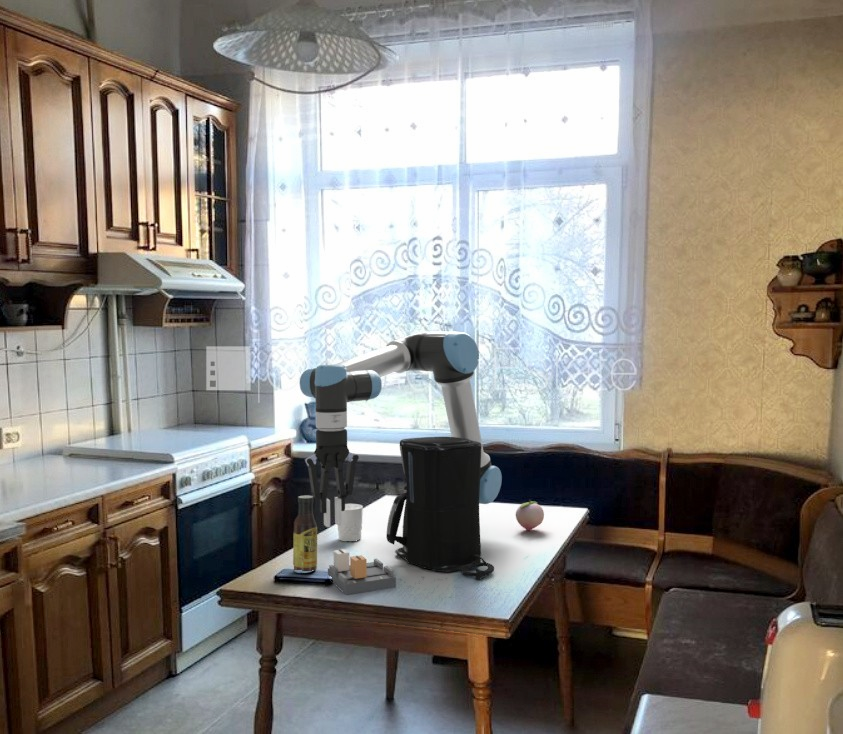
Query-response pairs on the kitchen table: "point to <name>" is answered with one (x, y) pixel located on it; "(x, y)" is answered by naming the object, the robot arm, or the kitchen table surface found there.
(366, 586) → the panel
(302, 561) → the sauce bottle
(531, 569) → the kitchen table surface
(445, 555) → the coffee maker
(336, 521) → the robot arm
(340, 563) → the white fader
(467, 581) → the kitchen table surface
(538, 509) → the decorative fruit
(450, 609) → the kitchen table surface
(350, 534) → the white cup
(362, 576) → the orange fader
